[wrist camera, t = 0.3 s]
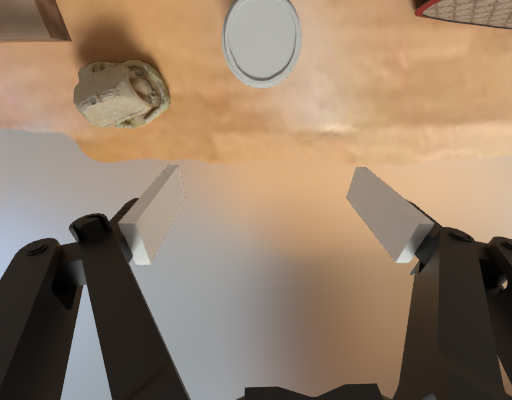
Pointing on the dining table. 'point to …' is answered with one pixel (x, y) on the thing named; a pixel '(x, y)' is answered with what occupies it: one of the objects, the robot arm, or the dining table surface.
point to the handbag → (469, 12)
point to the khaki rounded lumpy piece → (120, 94)
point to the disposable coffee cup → (261, 41)
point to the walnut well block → (31, 21)
